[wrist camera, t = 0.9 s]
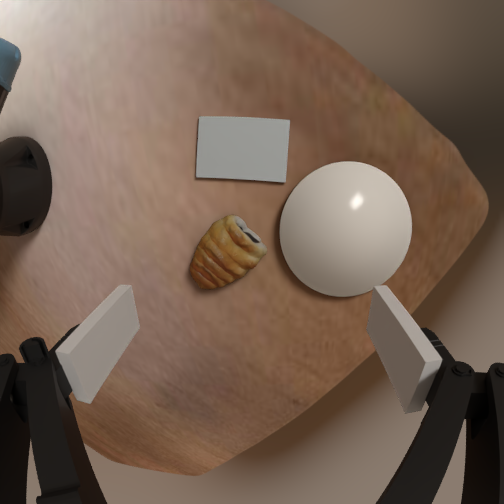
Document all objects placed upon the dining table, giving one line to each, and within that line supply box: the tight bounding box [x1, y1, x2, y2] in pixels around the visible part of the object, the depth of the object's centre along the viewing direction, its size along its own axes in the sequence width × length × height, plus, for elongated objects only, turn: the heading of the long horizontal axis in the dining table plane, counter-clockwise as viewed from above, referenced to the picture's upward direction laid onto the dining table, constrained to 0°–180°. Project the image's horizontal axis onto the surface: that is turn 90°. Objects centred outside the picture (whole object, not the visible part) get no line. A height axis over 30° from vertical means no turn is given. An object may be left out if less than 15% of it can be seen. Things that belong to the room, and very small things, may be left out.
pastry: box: [190, 215, 267, 289], centre depth 34 cm, size 9×7×4 cm
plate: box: [280, 162, 412, 297], centre depth 34 cm, size 16×16×1 cm
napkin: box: [196, 116, 290, 182], centre depth 32 cm, size 10×7×1 cm
